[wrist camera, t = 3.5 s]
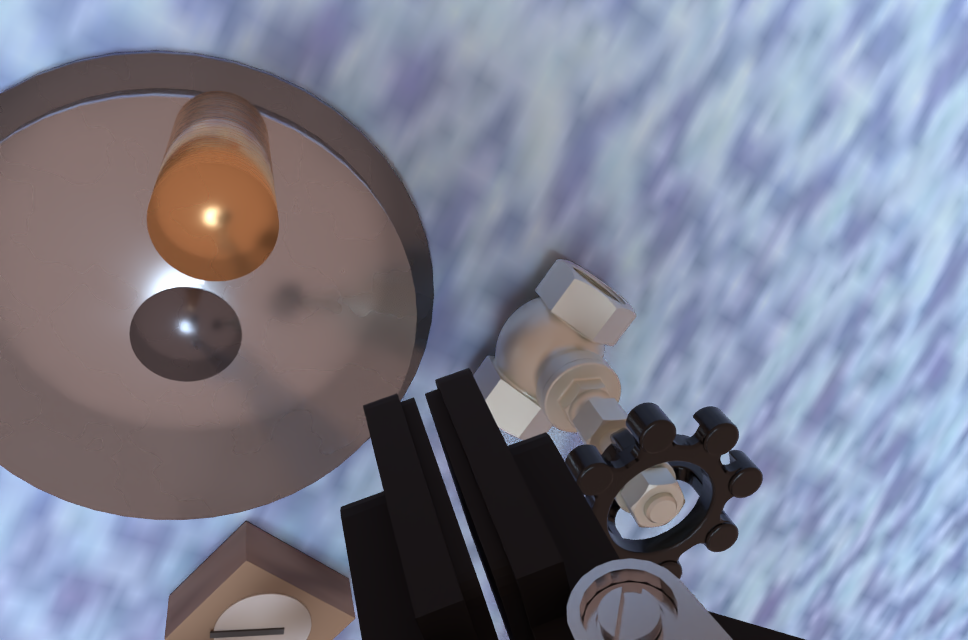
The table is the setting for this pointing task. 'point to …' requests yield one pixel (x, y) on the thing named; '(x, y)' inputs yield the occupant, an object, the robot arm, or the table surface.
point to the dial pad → (259, 594)
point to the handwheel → (190, 304)
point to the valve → (612, 421)
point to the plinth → (259, 89)
